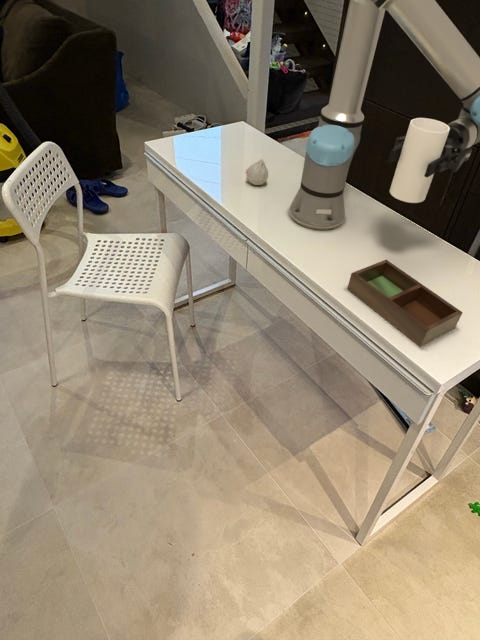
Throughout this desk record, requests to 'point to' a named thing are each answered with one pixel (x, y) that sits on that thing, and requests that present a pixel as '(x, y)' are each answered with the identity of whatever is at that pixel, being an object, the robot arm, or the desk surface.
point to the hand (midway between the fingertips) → (409, 163)
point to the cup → (418, 159)
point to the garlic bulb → (257, 173)
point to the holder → (404, 302)
